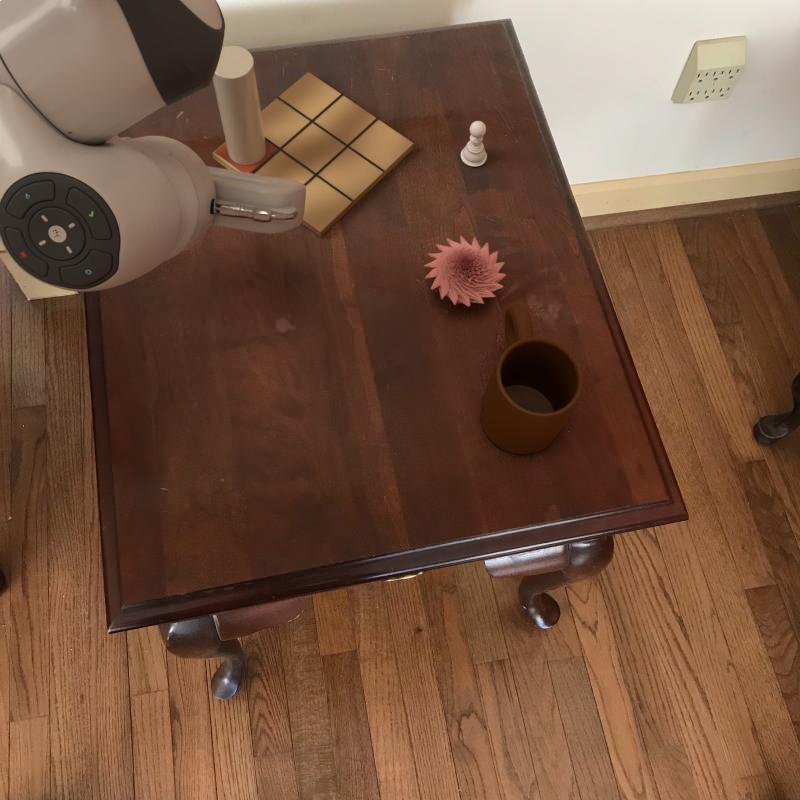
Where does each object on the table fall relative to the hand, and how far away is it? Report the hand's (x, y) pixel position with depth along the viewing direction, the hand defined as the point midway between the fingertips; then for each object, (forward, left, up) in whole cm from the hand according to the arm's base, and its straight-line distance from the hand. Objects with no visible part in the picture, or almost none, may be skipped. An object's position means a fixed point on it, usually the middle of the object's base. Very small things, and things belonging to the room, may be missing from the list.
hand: (206, 178), depth 75 cm
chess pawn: (+13, +25, -9) cm, 30 cm away
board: (0, +14, -9) cm, 17 cm away
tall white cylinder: (-5, +9, -8) cm, 13 cm away
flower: (+22, +11, -9) cm, 26 cm away
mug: (+33, +5, -9) cm, 35 cm away
